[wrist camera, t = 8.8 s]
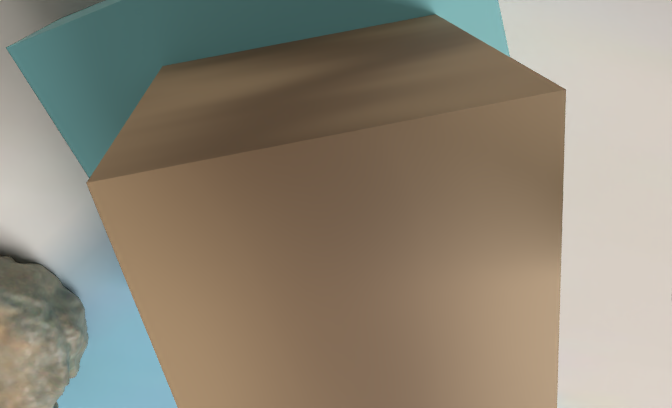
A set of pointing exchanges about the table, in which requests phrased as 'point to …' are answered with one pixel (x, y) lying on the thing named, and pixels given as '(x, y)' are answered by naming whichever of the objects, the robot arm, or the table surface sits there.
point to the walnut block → (346, 223)
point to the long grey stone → (37, 335)
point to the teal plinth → (189, 48)
